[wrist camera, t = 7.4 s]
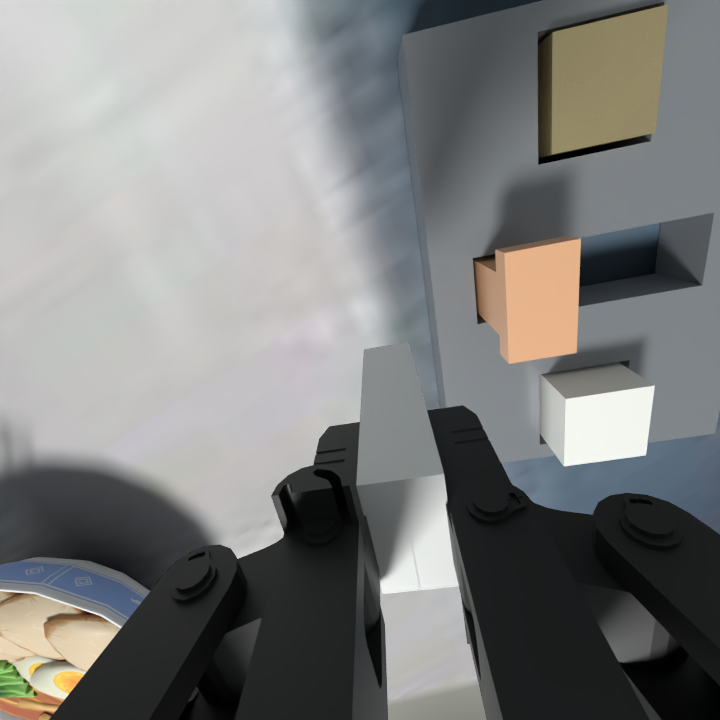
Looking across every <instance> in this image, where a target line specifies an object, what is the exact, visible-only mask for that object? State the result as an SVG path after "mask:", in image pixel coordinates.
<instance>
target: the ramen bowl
mask: <svg viewBox="0 0 720 720" xmlns="http://www.w3.org/2000/svg"><path fill="white" fill-rule="evenodd" d="M149 592H150V590H148V589H147V588H145V587H144V586H142V585H141V584H139V583H138V582H136V581H135V580H133V579H132V578H130V577H129V576H127V575H126V574H124V573H122V572H119V571H116V570H113V569H111V568H108V567H105V566H102V565H100V564H97V563H94V562H91V561H85V560H74V559H62V558H49V557H34V558H30V559H25V560H20V561H16V562H11V563H6V564H1V565H0V720H49V719H50V717H51V716H52V715H53V714H54V712H55V711H56V710H57V709H58V707H59V706H60V705H61V704H62V702H63V701H64V700H65V699H66V697H67V696H68V695H69V693H70V692H71V691H72V690H73V688H74V687H75V686H76V685H77V683H78V682H79V681H80V680H81V678H82V677H83V676H84V674H85V673H86V672H87V671H88V669H89V668H90V667H91V666H92V664H93V663H94V662H95V661H96V659H97V658H98V657H99V655H100V654H101V653H102V652H103V650H104V649H105V648H106V647H107V645H108V644H109V643H110V642H111V640H112V639H113V638H114V637H115V635H116V634H117V633H118V631H119V630H120V629H121V628H122V626H123V625H124V624H125V623H126V621H127V620H128V619H129V618H130V616H131V615H132V614H133V612H134V611H135V610H136V609H137V607H138V606H139V605H140V604H141V602H142V601H143V600H144V599H145V597H146V596H147V595H148V594H149Z"/></svg>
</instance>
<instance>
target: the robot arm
mask: <svg viewBox="0 0 720 720" xmlns="http://www.w3.org/2000/svg"><path fill="white" fill-rule="evenodd" d="M316 453H317V455H316V456H315V460H314V465H313V466H309V467H305V468H301V469H299V470H298V471H296V472H294V473H292V474H290V475H288V476H287V477H286V478H285V479H284V480H283V481H281V482H280V483H279V484H278V485H277V487H276V488H275V490H274V492H273V494H272V495H271V497H272V500H273V503H274V505H275V508H276V511H277V514H278V517H279V519H280V522H281V525H282V528H283V531H284V536H283V538H282V539H281V540H279V541H278V542H276V543H274V544H272V545H270V546H268V547H266V548H264V549H262V550H259V551H257V552H254V553H252V554H249V555H247V556H244V557H242V558H239V559H237V557H236V556H235V554H234V553H233V551H232V550H231V549H230V548H228V547H225V546H222V545H212V546H205V547H202V548H200V549H197V550H195V551H192V552H190V553H189V554H187V555H186V556H184V557H183V558H181V559H180V560H178V561H177V562H175V563H174V565H173V566H172V567H171V568H170V569H169V570H168V571H167V572H166V573H165V574H164V575H163V576H162V577H161V578H160V580H159V581H158V582H157V583H156V585H155V586H154V587H153V588H152V590H151V591H150V592H149V594H148V595H147V596H146V597H145V599H144V600H143V601H142V602H141V604H140V605H139V606H138V607H137V609H136V610H135V611H134V612H133V614H132V615H131V616H130V618H129V619H128V620H127V621H126V623H125V624H124V625H123V626H122V628H121V629H120V630H119V631H118V633H117V634H116V635H115V637H114V638H113V639H112V640H111V642H110V643H109V644H108V645H107V647H106V648H105V649H104V650H103V652H102V653H101V654H100V655H99V657H98V658H97V659H96V661H95V662H94V663H93V664H92V666H91V667H90V668H89V669H88V671H87V672H86V673H85V674H84V676H83V677H82V678H81V680H80V681H79V682H78V683H77V685H76V686H75V687H74V688H73V690H72V691H71V692H70V693H69V695H68V696H67V697H66V699H65V700H64V701H63V702H62V704H61V705H60V706H59V707H58V709H57V710H56V711H55V712H54V714H53V715H52V716H51V717H50V719H49V720H388V708H387V707H388V706H387V676H386V646H385V623H384V619H383V615H382V610H381V606H380V585H381V589H382V593H383V594H387V593H397V592H407V591H416V590H426V589H436V588H446V587H455V586H459V589H460V593H461V598H462V605H463V613H464V621H465V629H466V636H467V644H470V646H471V651H472V655H473V660H474V664H475V669H476V673H477V678H478V682H479V687H480V691H481V696H482V700H483V705H484V709H485V714H486V718H487V720H720V534H718V533H717V532H715V531H714V530H713V529H711V528H710V527H708V526H707V525H705V524H704V523H703V522H701V521H700V520H698V519H697V518H695V517H694V516H693V515H691V514H690V513H688V512H686V511H684V510H683V509H681V508H679V507H677V506H675V505H673V504H672V503H670V502H668V501H664V500H661V499H658V498H655V497H652V496H649V495H642V494H632V493H624V494H617V495H610V496H608V497H607V498H605V499H603V500H602V501H600V502H598V504H597V506H596V509H595V511H594V513H593V515H589V514H582V513H574V512H566V511H559V510H554V509H550V508H546V507H543V506H541V505H538V504H535V503H534V502H532V501H531V500H530V499H529V497H528V496H527V495H526V494H525V493H524V492H523V491H522V490H520V489H518V488H517V487H515V486H513V485H512V484H511V482H510V480H509V478H508V476H507V474H506V472H505V470H504V468H503V466H502V464H501V462H500V460H499V458H498V456H497V454H496V452H495V450H494V448H493V446H492V444H491V442H490V440H488V436H487V434H486V432H485V430H483V426H482V424H481V422H480V420H479V418H478V416H477V414H475V413H474V412H472V411H471V410H469V409H468V408H466V407H465V406H463V405H461V406H454V407H448V408H441V409H434V410H428V411H427V409H426V405H425V401H424V398H423V394H422V390H421V386H420V383H419V379H418V375H417V372H416V368H415V364H414V361H413V357H412V353H411V349H410V346H409V342H406V343H400V344H394V345H388V346H382V347H376V348H370V349H365V350H364V358H363V375H362V393H361V411H360V422H357V423H350V424H343V425H337V426H330V427H329V428H328V429H327V430H326V431H325V433H324V434H323V435H322V436H321V438H320V439H319V443H318V447H317V451H316Z"/></svg>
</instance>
